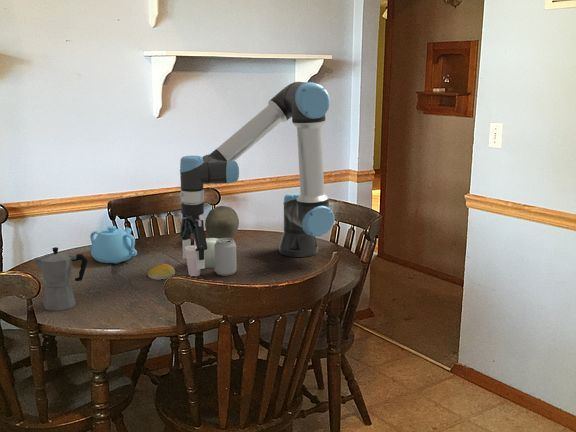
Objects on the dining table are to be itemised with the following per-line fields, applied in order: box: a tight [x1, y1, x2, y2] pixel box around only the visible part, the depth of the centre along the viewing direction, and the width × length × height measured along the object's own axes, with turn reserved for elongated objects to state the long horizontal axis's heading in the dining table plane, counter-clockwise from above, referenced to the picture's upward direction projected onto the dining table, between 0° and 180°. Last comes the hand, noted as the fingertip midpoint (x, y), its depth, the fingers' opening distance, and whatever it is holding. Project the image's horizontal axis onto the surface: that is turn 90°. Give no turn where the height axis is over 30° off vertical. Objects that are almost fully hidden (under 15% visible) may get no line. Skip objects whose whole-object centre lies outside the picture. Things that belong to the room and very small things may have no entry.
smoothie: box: [184, 238, 201, 277], centre depth 214 cm, size 6×6×14 cm
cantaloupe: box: [204, 205, 240, 239], centre depth 254 cm, size 14×14×15 cm
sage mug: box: [204, 237, 218, 269], centre depth 226 cm, size 10×8×9 cm
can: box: [214, 238, 237, 277], centre depth 217 cm, size 8×8×12 cm
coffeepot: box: [32, 247, 89, 312], centre depth 186 cm, size 15×9×18 cm, turn 101°
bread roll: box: [147, 263, 176, 281], centre depth 214 cm, size 8×9×4 cm
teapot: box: [89, 225, 138, 265], centre depth 233 cm, size 20×20×13 cm
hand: (193, 263), depth 215 cm, fingers open, 13 cm apart
